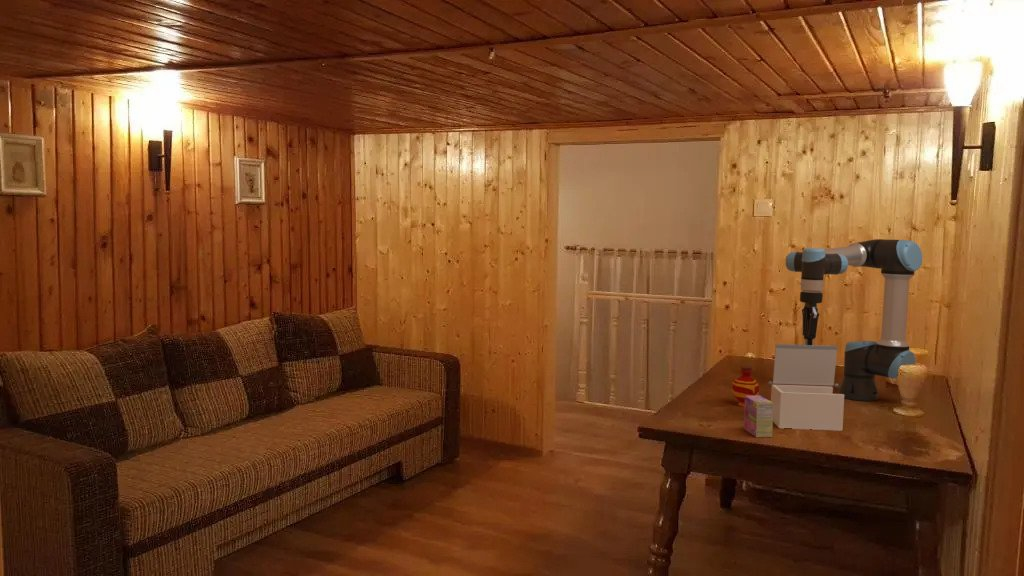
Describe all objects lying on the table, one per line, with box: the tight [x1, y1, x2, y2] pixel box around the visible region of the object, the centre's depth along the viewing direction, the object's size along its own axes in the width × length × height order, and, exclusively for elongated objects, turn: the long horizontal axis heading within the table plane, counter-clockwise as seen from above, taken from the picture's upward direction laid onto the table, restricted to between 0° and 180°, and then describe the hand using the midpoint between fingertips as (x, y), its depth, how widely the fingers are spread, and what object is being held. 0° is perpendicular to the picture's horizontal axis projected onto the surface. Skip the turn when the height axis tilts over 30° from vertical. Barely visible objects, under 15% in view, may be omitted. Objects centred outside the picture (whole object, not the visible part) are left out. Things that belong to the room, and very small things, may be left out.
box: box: [743, 395, 774, 438], centre depth 256 cm, size 10×6×12 cm, turn 5°
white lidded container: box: [767, 380, 845, 432], centre depth 268 cm, size 24×14×14 cm, turn 85°
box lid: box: [772, 343, 838, 387], centre depth 272 cm, size 21×14×1 cm
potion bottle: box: [730, 365, 760, 408], centre depth 295 cm, size 10×10×15 cm
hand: (807, 356), depth 275 cm, fingers closed
